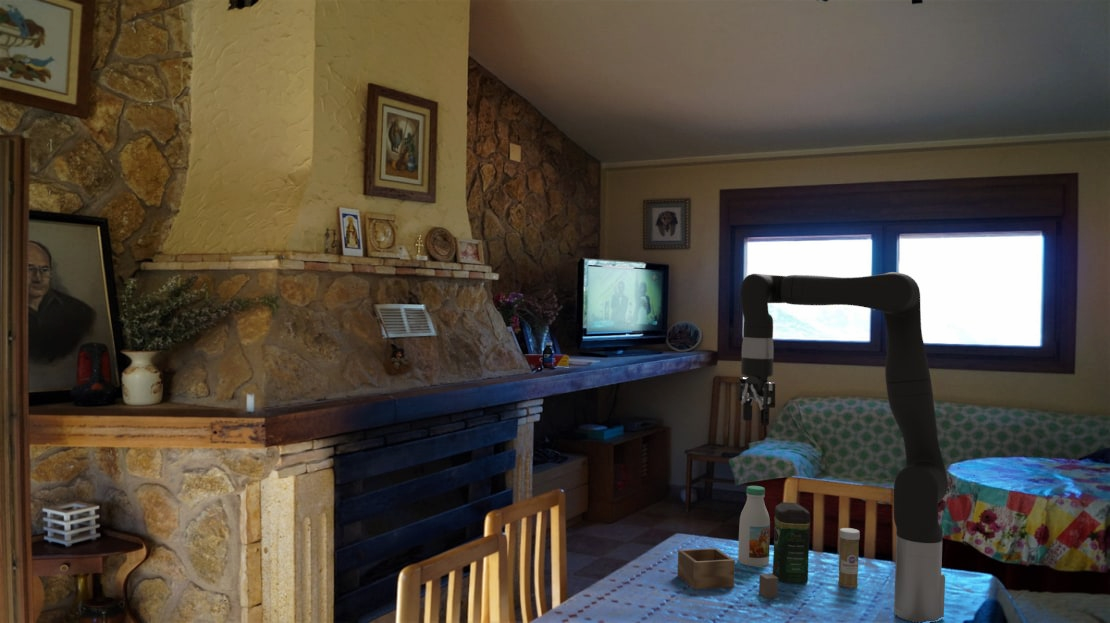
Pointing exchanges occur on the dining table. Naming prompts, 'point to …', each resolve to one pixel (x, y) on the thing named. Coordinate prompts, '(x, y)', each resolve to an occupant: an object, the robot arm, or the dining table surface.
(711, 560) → the box
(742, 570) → the dining table surface
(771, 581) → the lid
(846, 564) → the sprinkles bottle
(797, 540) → the coffee jar
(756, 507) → the milk bottle
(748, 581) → the dining table surface
